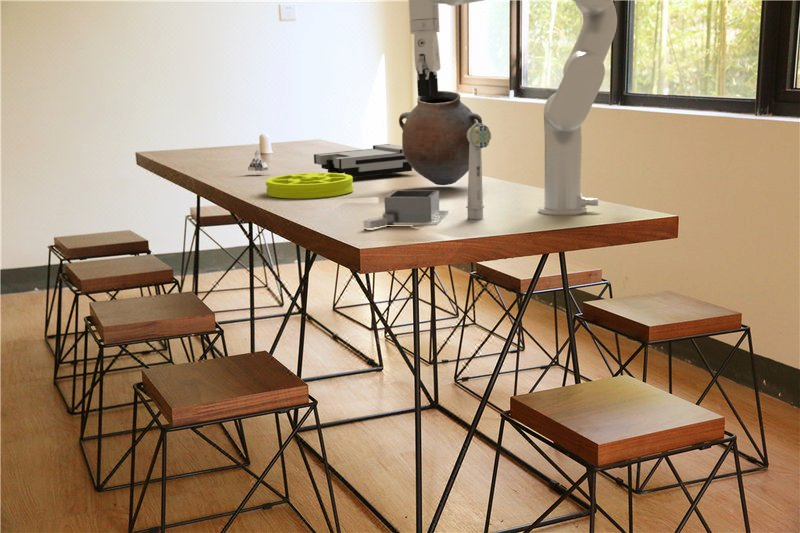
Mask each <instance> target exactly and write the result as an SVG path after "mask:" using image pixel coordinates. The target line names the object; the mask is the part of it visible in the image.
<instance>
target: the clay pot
mask: <svg viewBox="0 0 800 533" xmlns="http://www.w3.org/2000/svg"><path fill="white" fill-rule="evenodd" d="M416 99H417V101H416V103H417V105H415V107H414V108H412V110H410V111H405V112H402V113H401V114H400V116H399V118H398V124H399V127H400V128H401V129H402V133H401V134H402V135H401V139H402V140H401V143H402V144H401V146H402V148H403V153H404V156H405V158H406V160H407V161H408V163H409V164H410V165H411V167H412V170H414V171H415V172H416V173H417V174H418V175H420V176H422V177H423V178H425V179H426V180H428V181H430V183H433V184H435V185H437V186H447V185H448V186H449V185H453V184H455V183H457V182H458V181H459V180H460V179H462V178H463V177H464V176H465V175H466V174H467V173H469V141H468V139H467V132H468V130H469V129H470V128H471V127H472V126H473V125H474V124H475V123H482V124H483V120H482V116H481V115H479V114H478V113H474V112H472V110H471V109H470V108H469V107H468V106H467V105H465V104H464V103H463V102H462V101H461V95H460V93H458V92H455V91H446V90H444V91H443V90H438V93H435V94H431V95H430V96H418V95H417V98H416ZM404 119H405V121H403V120H404Z"/></svg>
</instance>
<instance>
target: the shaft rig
mask: <svg viewBox="0 0 800 533" xmlns="http://www.w3.org/2000/svg"><path fill="white" fill-rule="evenodd" d="M448 215H449V210H440V190H438V189H437V190H436V189H435V190H434V189H431V190H429V189H427V190H426V189H425V190H424V189H423V190H422V189H420V190H419V189H414V190H413V189H408V190H407V189H396V190H395V189H394V190H393V191H391V192H390V193H389V194H387V195H386V196H384V213H382V216H377V217H373V218H370V219H369V218H368V219H365V220H363V228H364V227H365V228H374V227H380V226H385V225H414V226H438V225H439V224H440V223H441V222H442V221H443V220H444V219H445V218H446V217H447V216H448Z"/></svg>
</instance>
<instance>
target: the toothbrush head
mask: <svg viewBox="0 0 800 533" xmlns="http://www.w3.org/2000/svg"><path fill="white" fill-rule="evenodd" d="M467 139H468V141H469V170H468V177H467V178H468V182H467V205H466V206H465V208H466V209H467V220H469V221H479V220H483V219H484V208H485V205H484V201H483V200H484V198H483V197H484V196H483V169H482V168H483V166H482V162H483V161H482V160H483V159H482V157H483V156H482V149H483V148H487V147H488V146H489V145H490V141H491V139H492V132H491V131H490V128H489V127H488V126H487V125H484V123H483V122H482V123H478V122H477V123H475V124H474V125H473V126H472V127H471V128H470V129H469V130H468V132H467Z"/></svg>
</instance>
